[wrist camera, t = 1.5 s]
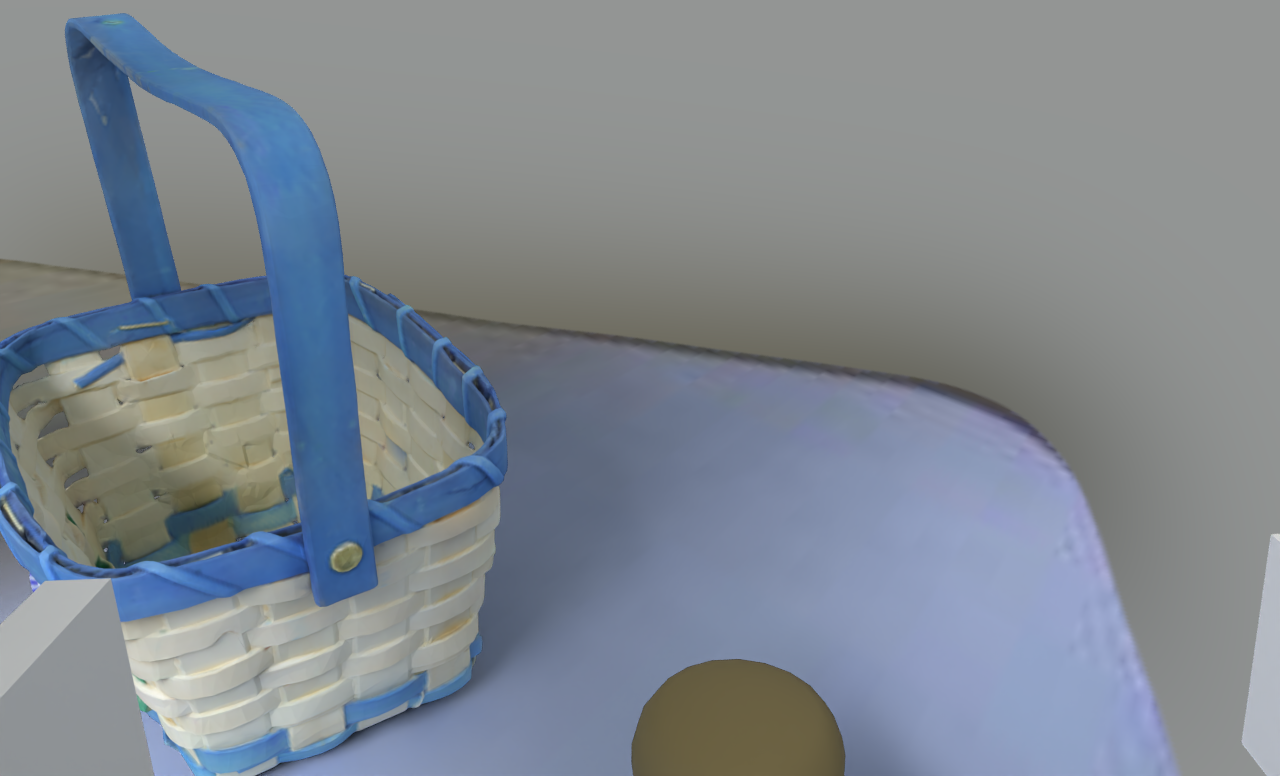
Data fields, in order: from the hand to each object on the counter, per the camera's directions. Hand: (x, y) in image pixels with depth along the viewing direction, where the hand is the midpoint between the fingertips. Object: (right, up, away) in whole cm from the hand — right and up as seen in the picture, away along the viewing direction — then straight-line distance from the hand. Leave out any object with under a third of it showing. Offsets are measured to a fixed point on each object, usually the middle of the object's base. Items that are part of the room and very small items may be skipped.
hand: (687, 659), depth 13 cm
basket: (-15, -8, +32) cm, 36 cm away
